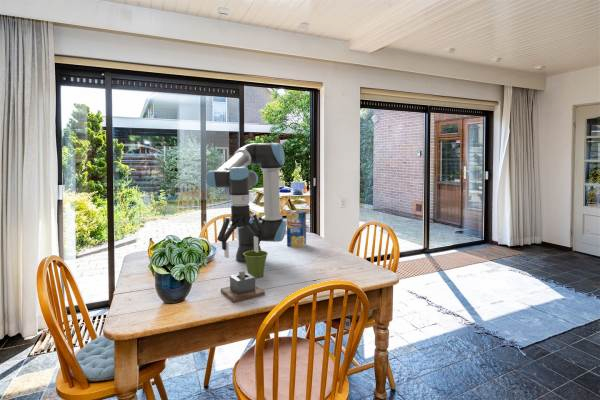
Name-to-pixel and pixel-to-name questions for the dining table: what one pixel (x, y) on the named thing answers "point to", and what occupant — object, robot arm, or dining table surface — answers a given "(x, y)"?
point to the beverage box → (296, 228)
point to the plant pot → (255, 262)
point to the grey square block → (242, 284)
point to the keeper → (242, 297)
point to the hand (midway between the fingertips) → (241, 254)
